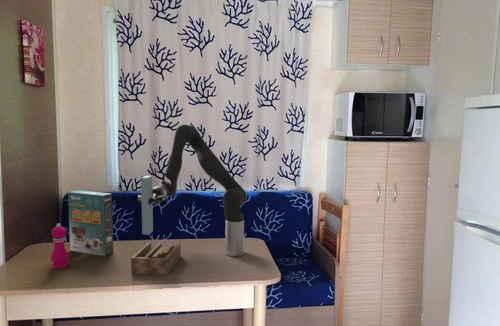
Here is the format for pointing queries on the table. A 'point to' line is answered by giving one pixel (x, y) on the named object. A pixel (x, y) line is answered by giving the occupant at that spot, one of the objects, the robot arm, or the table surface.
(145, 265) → the rack
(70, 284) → the table surface
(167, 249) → the offcuts
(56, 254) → the pepper mill
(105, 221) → the cake mix box
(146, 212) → the panel
